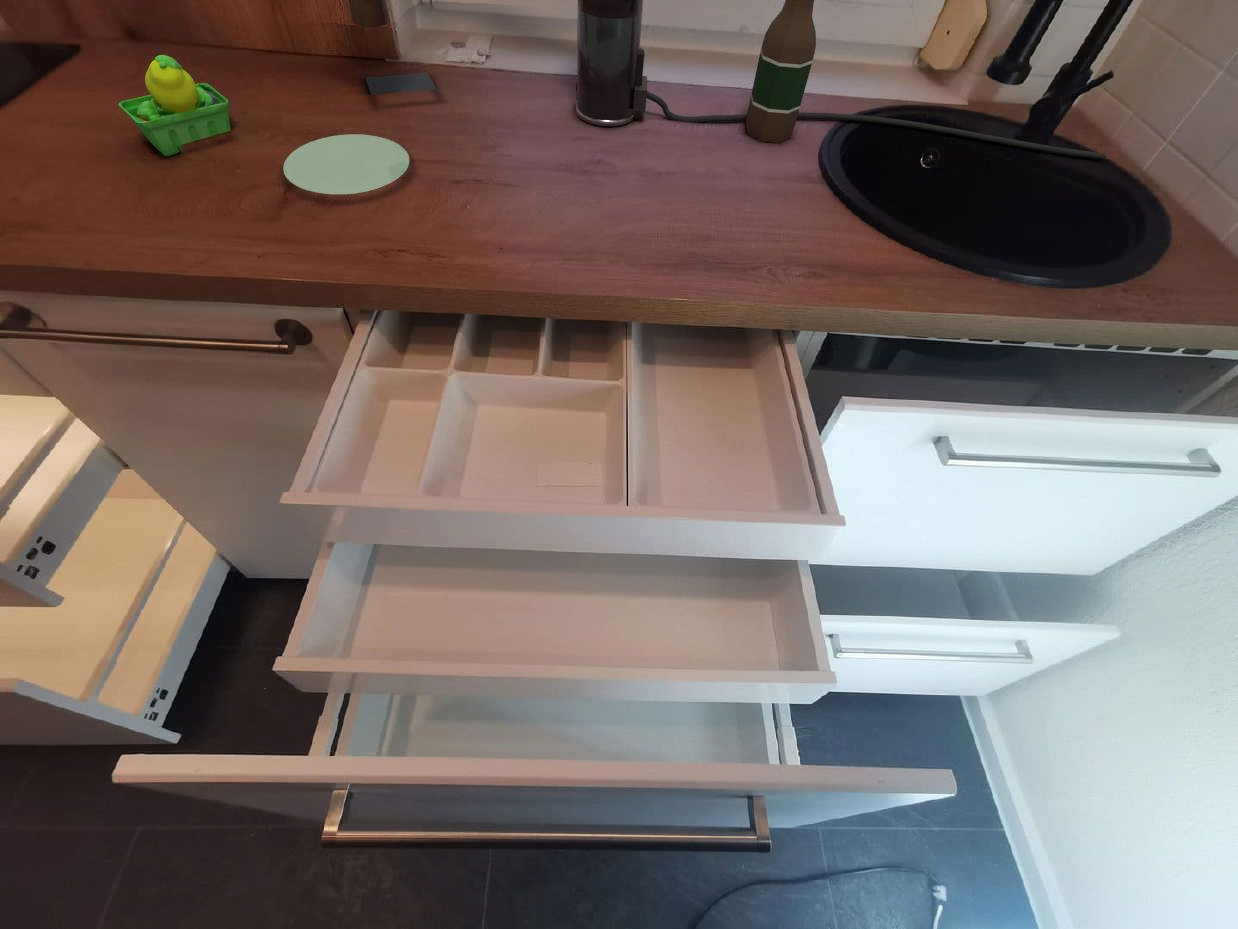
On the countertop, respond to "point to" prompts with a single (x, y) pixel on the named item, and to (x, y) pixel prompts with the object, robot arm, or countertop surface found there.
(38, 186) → the countertop surface
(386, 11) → the pepper mill
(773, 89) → the beer bottle
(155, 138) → the fruit basket
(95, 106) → the countertop surface
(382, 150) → the plate
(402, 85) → the mat
